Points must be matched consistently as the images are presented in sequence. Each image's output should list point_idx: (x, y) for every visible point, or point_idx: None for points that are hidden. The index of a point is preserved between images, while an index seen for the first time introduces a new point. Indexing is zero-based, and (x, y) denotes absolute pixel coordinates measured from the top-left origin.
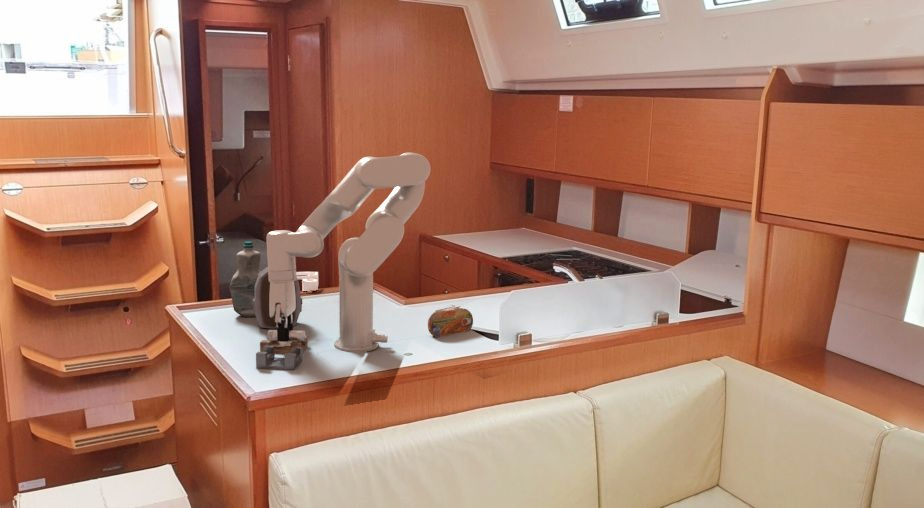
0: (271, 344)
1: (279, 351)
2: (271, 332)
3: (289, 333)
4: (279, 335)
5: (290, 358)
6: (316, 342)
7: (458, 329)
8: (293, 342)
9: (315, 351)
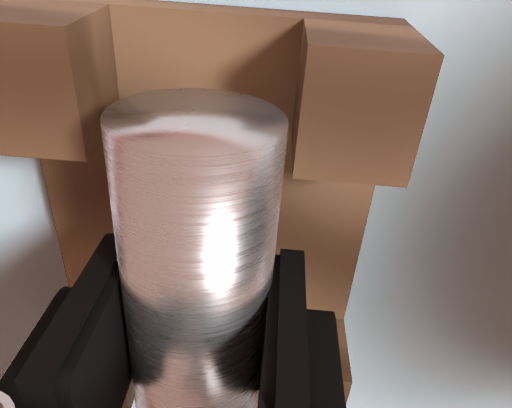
0: (267, 84)
1: (55, 210)
2: (123, 204)
3: (139, 402)
4: (45, 314)
5: None
6: (427, 388)
7: None
8: None
9: None
